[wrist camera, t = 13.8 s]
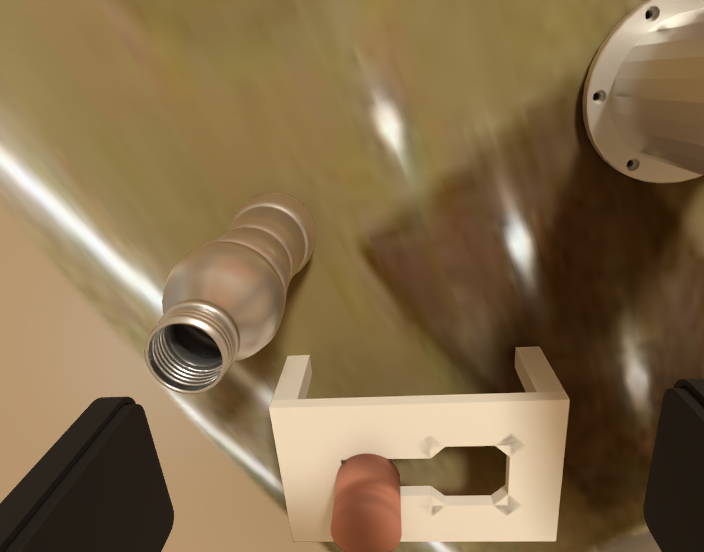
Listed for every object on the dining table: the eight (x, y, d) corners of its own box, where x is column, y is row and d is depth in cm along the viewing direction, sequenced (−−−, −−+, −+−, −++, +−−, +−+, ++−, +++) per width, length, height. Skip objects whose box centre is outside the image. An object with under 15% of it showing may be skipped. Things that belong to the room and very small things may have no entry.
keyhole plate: (539, 346, 42) (569, 399, 35) (530, 472, 47) (555, 541, 40) (287, 355, 44) (268, 408, 37) (306, 476, 49) (292, 541, 42)
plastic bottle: (231, 249, 40) (98, 394, 22) (254, 172, 38) (126, 263, 19) (304, 277, 41) (235, 441, 22) (331, 203, 38) (279, 320, 20)
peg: (397, 404, 43) (400, 505, 33) (399, 449, 45) (403, 557, 35) (341, 406, 44) (327, 506, 33) (346, 450, 45) (334, 557, 35)
